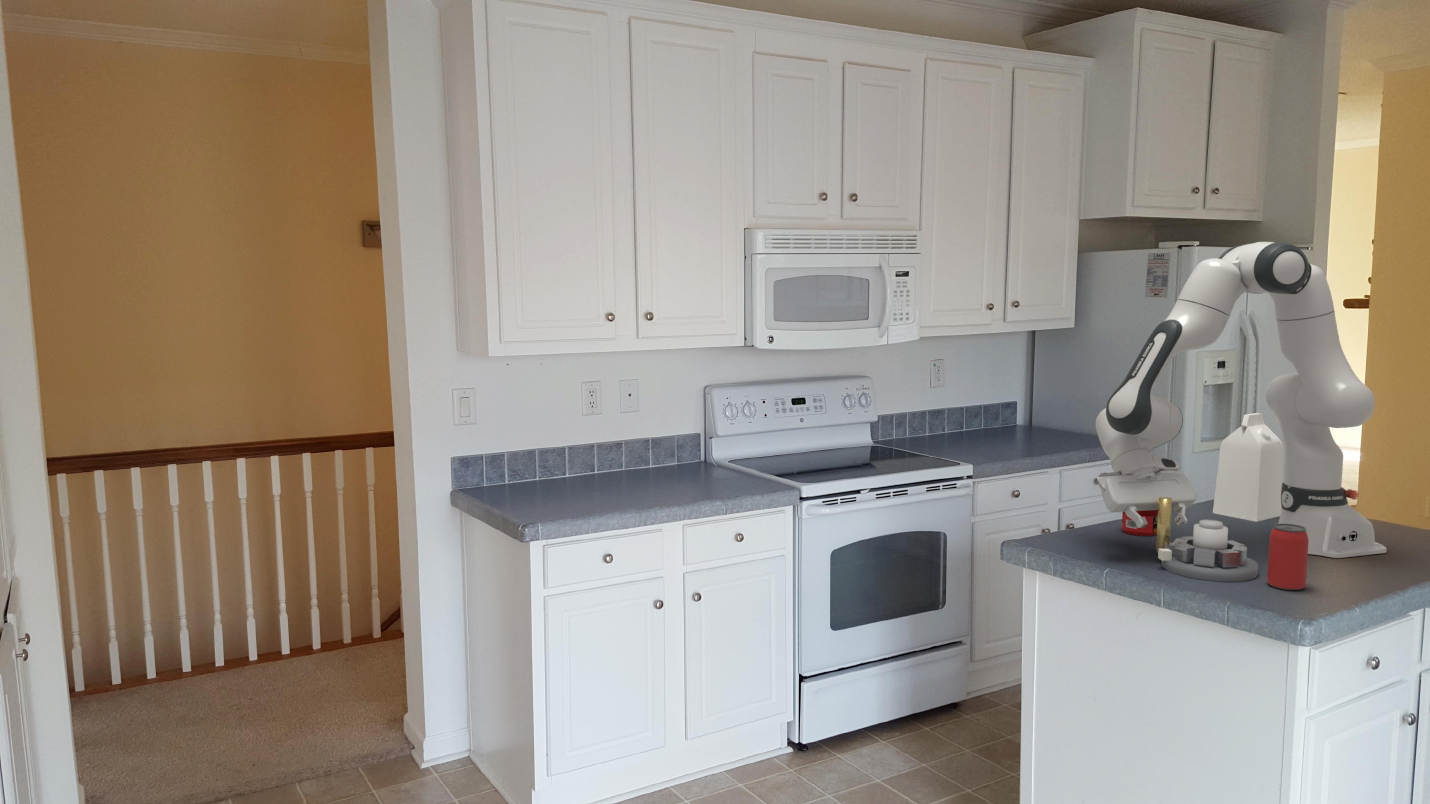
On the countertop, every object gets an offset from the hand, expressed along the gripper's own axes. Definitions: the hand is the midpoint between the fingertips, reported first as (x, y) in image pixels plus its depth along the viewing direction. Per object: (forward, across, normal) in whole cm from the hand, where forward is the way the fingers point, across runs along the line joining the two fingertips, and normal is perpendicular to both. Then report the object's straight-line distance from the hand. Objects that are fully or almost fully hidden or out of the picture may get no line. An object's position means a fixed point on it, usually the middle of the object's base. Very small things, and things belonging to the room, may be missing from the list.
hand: (1163, 524), depth 212 cm
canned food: (-12, +12, +24) cm, 29 cm away
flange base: (+10, +7, +2) cm, 12 cm away
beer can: (+20, +14, -7) cm, 25 cm away
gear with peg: (+7, +6, +1) cm, 10 cm away
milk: (-19, +50, +32) cm, 62 cm away
